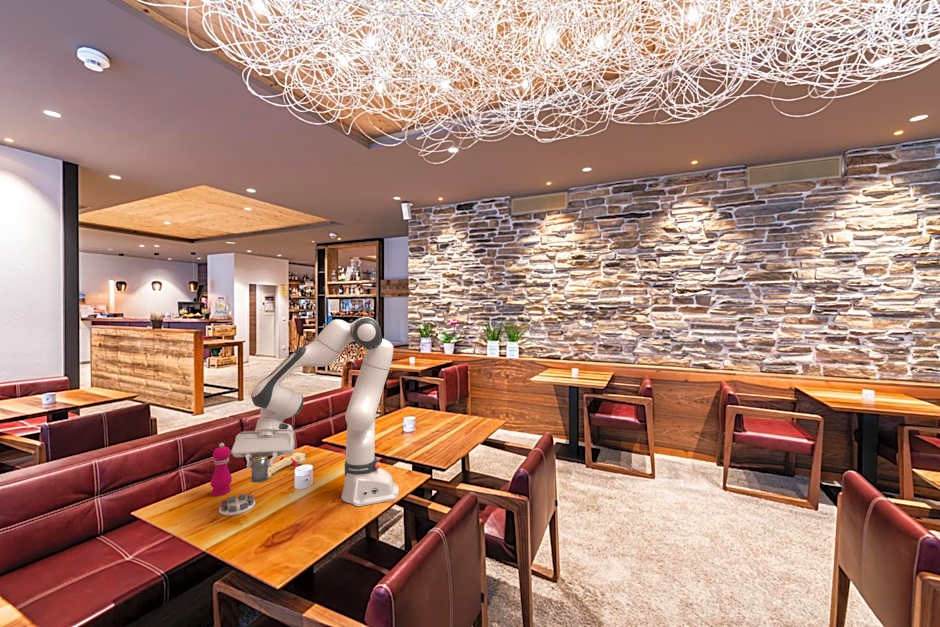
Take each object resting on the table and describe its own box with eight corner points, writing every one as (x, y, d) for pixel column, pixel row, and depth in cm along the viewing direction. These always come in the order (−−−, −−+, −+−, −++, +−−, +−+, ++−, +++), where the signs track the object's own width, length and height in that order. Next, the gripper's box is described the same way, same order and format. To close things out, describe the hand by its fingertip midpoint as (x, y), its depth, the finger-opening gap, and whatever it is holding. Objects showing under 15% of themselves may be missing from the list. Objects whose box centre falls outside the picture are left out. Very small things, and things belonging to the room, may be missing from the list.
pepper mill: (221, 497, 151) (221, 446, 151) (205, 495, 152) (206, 445, 152) (236, 489, 158) (236, 440, 158) (221, 487, 159) (221, 439, 159)
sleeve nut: (269, 476, 138) (269, 453, 138) (265, 482, 133) (265, 459, 133) (254, 476, 137) (254, 454, 137) (249, 483, 132) (249, 459, 132)
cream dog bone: (268, 485, 164) (312, 460, 188) (267, 466, 164) (311, 443, 187) (252, 481, 168) (297, 457, 191) (250, 462, 168) (296, 440, 191)
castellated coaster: (259, 498, 150) (259, 491, 150) (248, 513, 139) (249, 506, 139) (226, 501, 148) (227, 494, 148) (213, 516, 137) (213, 509, 137)
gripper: (235, 427, 139) (223, 464, 130) (295, 425, 144) (288, 461, 134) (240, 435, 144) (228, 472, 134) (298, 433, 148) (291, 468, 138)
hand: (259, 466), depth 134 cm, fingers closed on sleeve nut, 5 cm apart
